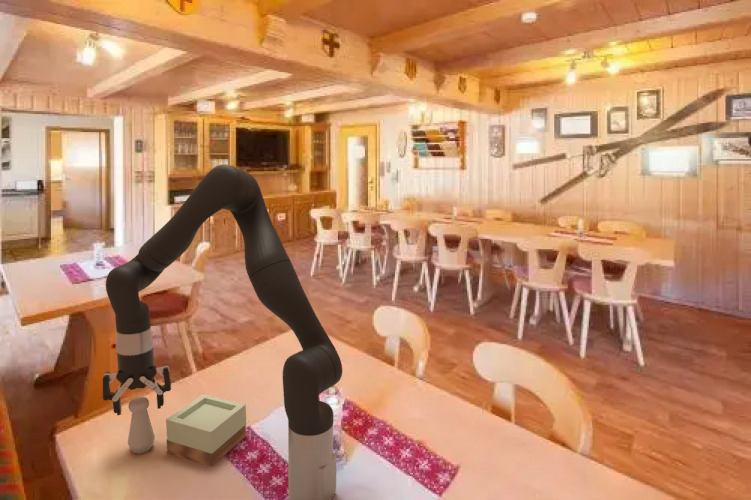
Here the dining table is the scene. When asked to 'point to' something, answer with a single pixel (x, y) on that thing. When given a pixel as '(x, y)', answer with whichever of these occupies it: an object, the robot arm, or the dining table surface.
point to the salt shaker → (140, 426)
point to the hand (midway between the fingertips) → (139, 410)
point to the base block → (203, 456)
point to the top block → (206, 423)
